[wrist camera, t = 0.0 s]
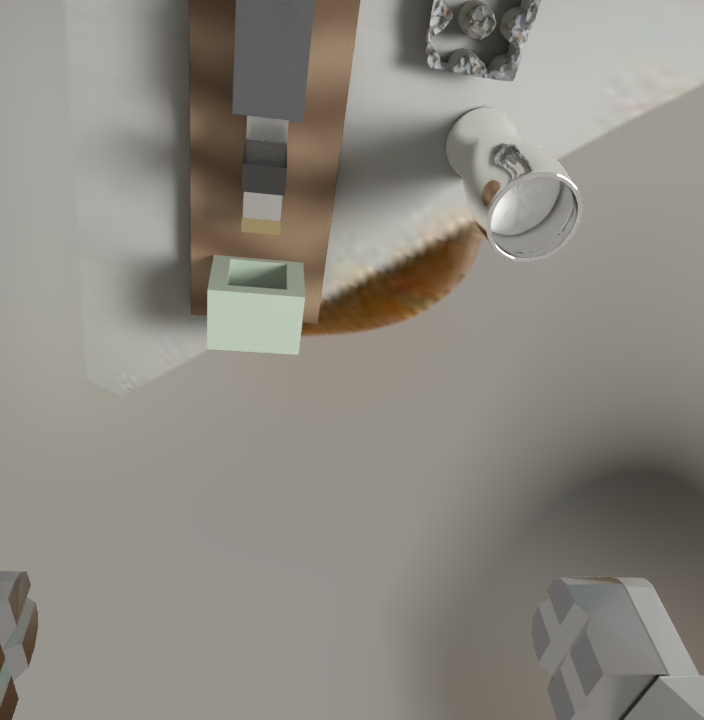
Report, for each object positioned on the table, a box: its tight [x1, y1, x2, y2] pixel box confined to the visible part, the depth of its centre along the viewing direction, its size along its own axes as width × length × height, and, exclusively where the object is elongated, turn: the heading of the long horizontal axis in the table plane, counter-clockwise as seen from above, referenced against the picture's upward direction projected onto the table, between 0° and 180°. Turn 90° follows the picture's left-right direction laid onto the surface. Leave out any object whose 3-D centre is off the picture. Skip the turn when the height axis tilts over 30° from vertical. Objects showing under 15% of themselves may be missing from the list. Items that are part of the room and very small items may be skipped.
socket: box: [207, 255, 305, 355], centre depth 58 cm, size 6×8×8 cm
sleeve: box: [232, 0, 315, 122], centre depth 46 cm, size 8×5×5 cm, turn 172°
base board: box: [189, 0, 360, 323], centre depth 54 cm, size 29×12×2 cm, turn 172°
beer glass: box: [446, 107, 583, 263], centre depth 49 cm, size 7×7×15 cm
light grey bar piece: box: [241, 116, 289, 235], centre depth 45 cm, size 21×3×8 cm, turn 172°
